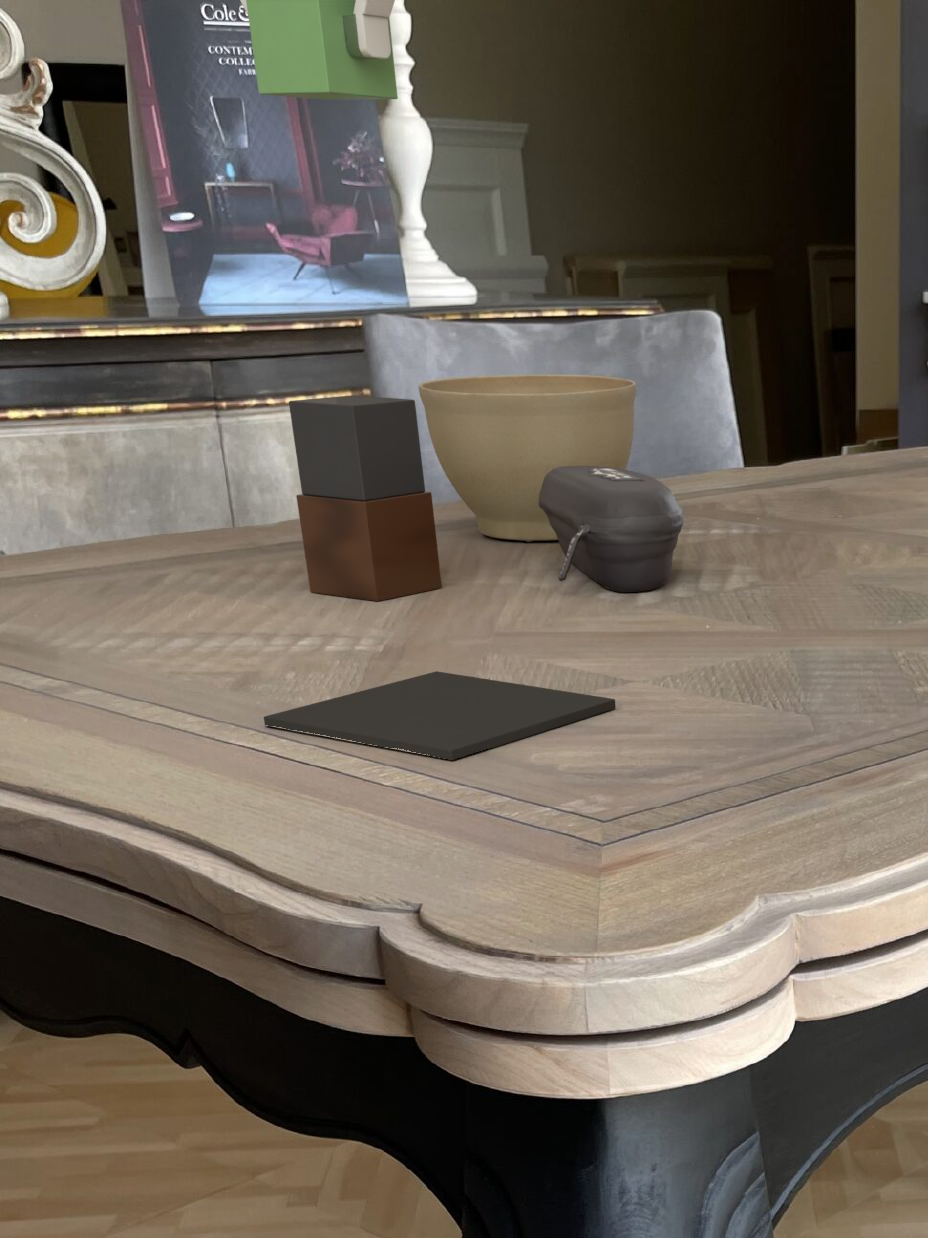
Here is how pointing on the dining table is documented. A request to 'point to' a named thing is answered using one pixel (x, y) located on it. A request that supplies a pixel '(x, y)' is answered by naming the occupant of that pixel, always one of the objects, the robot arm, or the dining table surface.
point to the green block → (313, 53)
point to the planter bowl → (524, 439)
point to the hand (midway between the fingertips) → (324, 59)
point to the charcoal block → (357, 447)
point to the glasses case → (613, 525)
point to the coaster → (442, 714)
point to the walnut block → (370, 546)
